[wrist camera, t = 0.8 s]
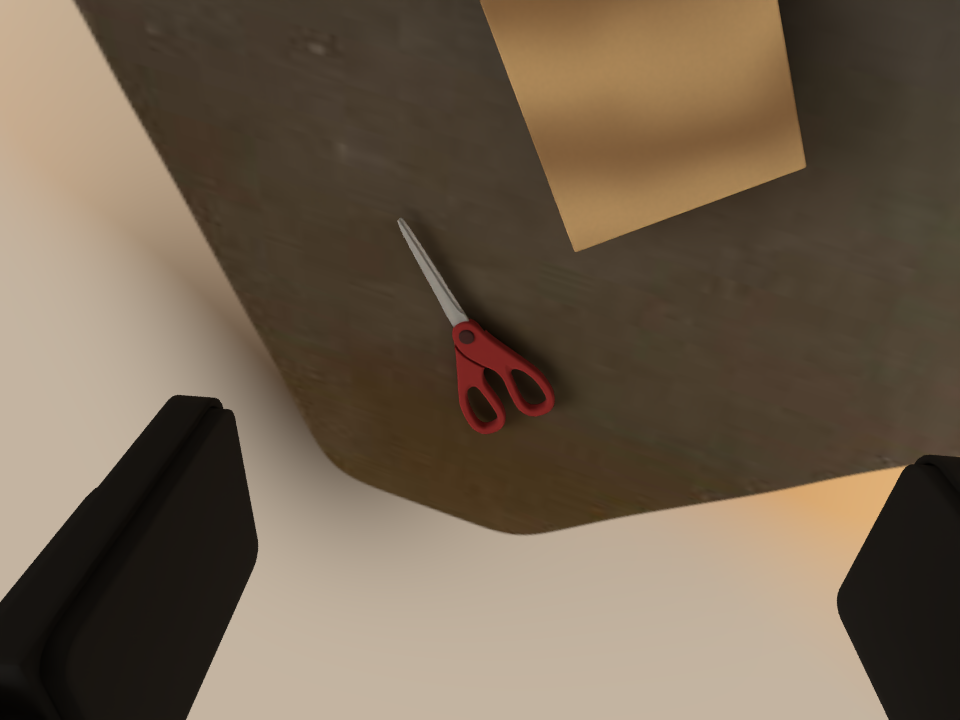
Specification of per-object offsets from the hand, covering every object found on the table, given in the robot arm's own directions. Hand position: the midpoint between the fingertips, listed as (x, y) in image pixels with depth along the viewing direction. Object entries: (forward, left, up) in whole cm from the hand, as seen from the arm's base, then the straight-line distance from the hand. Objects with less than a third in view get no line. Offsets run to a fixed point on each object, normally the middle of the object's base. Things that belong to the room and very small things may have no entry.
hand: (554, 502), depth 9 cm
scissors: (+8, -7, -24) cm, 27 cm away
